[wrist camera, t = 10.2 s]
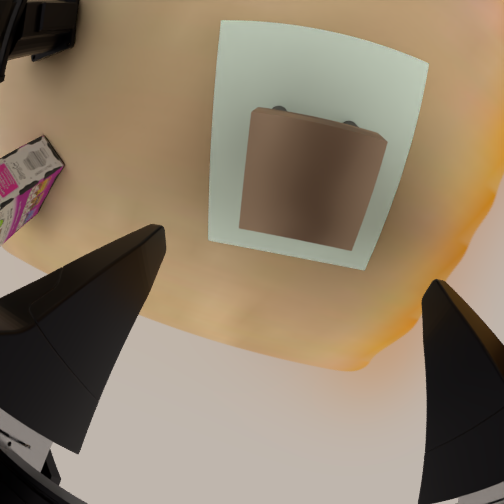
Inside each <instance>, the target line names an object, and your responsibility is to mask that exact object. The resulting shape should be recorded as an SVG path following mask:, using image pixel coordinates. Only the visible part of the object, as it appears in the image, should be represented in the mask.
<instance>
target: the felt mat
mask: <svg viewBox="0 0 504 504" xmlns="http://www.w3.org/2000/svg"><path fill="white" fill-rule="evenodd" d="M428 66H429V63H427V62H424V61H422V60H420V59H417V58H415V57H412V56H410V55H407V54H405V53H402V52H400V51H397V50H394V49H391V48H388V47H385V46H383V45H379V44H376V43H373V42H370V41H366V40H363V39H359V38H356V37H352V36H348V35H344V34H340V33H335V32H331V31H326V30H321V29H316V28H310V27H304V26H297V25H290V24H282V23H272V22H260V21H240V20H221V27H220V36H219V45H218V55H217V66H216V77H215V89H214V103H213V118H212V134H211V154H210V178H209V215H208V240H209V241H214V242H219V243H225V244H230V245H235V246H240V247H245V248H251V249H256V250H261V251H266V252H272V253H277V254H282V255H287V256H292V257H297V258H303V259H308V260H313V261H318V262H323V263H328V264H333V265H339V266H344V267H349V268H354V269H359V270H364V271H365V268H366V266H367V264H368V262H369V259H370V257H371V255H372V253H373V250H374V248H375V245H376V243H377V241H378V238H379V236H380V233H381V231H382V228H383V226H384V223H385V221H386V218H387V215H388V213H389V210H390V207H391V205H392V202H393V199H394V196H395V193H396V190H397V187H398V185H399V182H400V179H401V175H402V172H403V169H404V166H405V163H406V160H407V156H408V153H409V149H410V146H411V142H412V139H413V135H414V131H415V127H416V123H417V119H418V115H419V111H420V107H421V102H422V98H423V93H424V88H425V83H426V78H427V72H428ZM275 106H282V107H284V108H285V109H286V110H287V111H288V112H294V113H299V114H304V115H309V116H314V117H319V118H323V119H328V120H332V121H336V122H340V123H343V122H345V121H353V122H354V123H355V124H356V125H357V126H358V127H359V128H363V129H366V130H370V131H373V132H377V133H379V134H380V135H381V136H382V137H383V138H384V139H385V140H386V141H387V142H388V143H387V147H386V150H385V154H384V157H383V161H382V164H381V167H380V171H379V174H378V177H377V180H376V184H375V187H374V190H373V193H372V196H371V199H370V202H369V205H368V208H367V211H366V213H365V216H364V219H363V222H362V225H361V227H360V230H359V233H358V236H357V238H356V241H355V243H354V246H353V249H352V251H349V250H344V249H339V248H334V247H330V246H325V245H320V244H315V243H310V242H305V241H301V240H296V239H291V238H286V237H281V236H276V235H270V234H265V233H260V232H255V231H250V230H245V229H239V220H240V210H241V201H242V191H243V181H244V172H245V163H246V153H247V144H248V135H249V127H250V118H251V112H252V111H253V110H254V109H256V108H257V107H263V108H270V109H272V108H273V107H275Z"/></svg>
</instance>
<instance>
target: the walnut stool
mask: <svg viewBox="0 0 504 504" xmlns="http://www.w3.org/2000/svg"><path fill="white" fill-rule="evenodd" d="M387 143H388V142H387V141H386V140H385V139H384V138H383V137H382V136H381V135H380V134H379V133H377V132H373V131H370V130H366V129H363V128H359V127H358V126H357V125H356V124H355V123H354V122H353V121H345V122H343V123H340V122H336V121H332V120H328V119H323V118H319V117H314V116H309V115H304V114H299V113H294V112H288V111H287V110H286V109H285V108H284V107H282V106H275V107H273V108H272V109H270V108H263V107H257V108H256V109H254V110H253V111H252V112H251V118H250V127H249V135H248V144H247V153H246V163H245V172H244V181H243V191H242V201H241V210H240V220H239V229H245V230H250V231H255V232H260V233H265V234H270V235H276V236H281V237H286V238H291V239H296V240H301V241H305V242H310V243H315V244H320V245H325V246H330V247H334V248H339V249H344V250H349V251H352V249H353V246H354V243H355V241H356V238H357V236H358V233H359V230H360V227H361V225H362V222H363V219H364V216H365V213H366V211H367V208H368V205H369V202H370V199H371V196H372V193H373V190H374V187H375V184H376V180H377V177H378V174H379V171H380V167H381V164H382V161H383V157H384V154H385V150H386V147H387Z"/></svg>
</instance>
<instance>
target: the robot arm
mask: <svg viewBox="0 0 504 504" xmlns="http://www.w3.org/2000/svg"><path fill="white" fill-rule="evenodd" d="M78 3H79V0H0V83H1V82H3V81H4V78H5V69H6V65H7V61H8V60H11V59H16V58H20V57H24V56H29V55H32V56H31V59H32V61H33V62H35V61H38V60H40V59H43V58H45V57H48V56H50V55H53V54H56V53H58V52H61V51H64V50H67V49H70V48H72V47H73V45H74V40H75V27H76V18H77V10H78ZM165 253H166V239H165V230H164V227H163V226H161V225H156V224H150V225H148V226H145V227H143V228H141V229H139V230H137V231H134V232H132V233H130V234H128V235H126V236H124V237H121V238H119V239H117V240H115V241H113V242H111V243H109V244H107V245H105V246H103V247H101V248H98V249H96V250H94V251H92V252H90V253H88V254H86V255H84V256H82V257H80V258H78V259H77V260H75V261H73V262H71V263H69V264H67V265H65V266H63V268H62V267H61V268H59V269H57V270H56V271H54V272H52V273H50V274H48V275H46V276H44V277H42V278H40V279H38V280H37V281H34V282H32V283H30V284H28V285H26V286H24V287H22V288H20V289H18V290H16V291H14V292H12V293H10V294H7V295H6V296H3V297H2V298H0V504H87V503H85V502H84V501H82V500H80V499H78V498H77V497H75V496H74V495H72V494H70V493H69V492H67V491H66V490H64V489H63V488H61V487H60V486H59V484H60V481H61V477H60V475H59V472H58V470H57V467H56V464H55V462H54V459H53V456H52V453H51V450H50V447H51V445H52V442H55V443H56V444H58V445H60V446H62V447H64V448H66V449H68V450H70V451H72V452H74V453H76V454H79V452H80V450H81V447H82V444H83V441H84V438H85V436H86V433H87V430H88V428H89V425H90V422H91V420H92V417H93V414H94V412H95V410H96V407H97V405H98V402H99V399H100V397H101V394H102V392H103V390H104V387H105V385H106V383H107V380H108V378H109V376H110V374H111V371H112V369H113V367H114V364H115V362H116V360H117V358H118V356H119V354H120V351H121V349H122V347H123V345H124V343H125V341H126V339H127V337H128V335H129V332H130V330H131V328H132V326H133V324H134V322H135V320H136V318H137V316H138V314H139V312H140V310H141V308H142V306H143V304H144V302H145V301H146V299H147V297H148V295H149V292H150V290H151V288H152V285H153V283H154V280H155V278H156V275H157V273H158V270H159V268H160V265H161V263H162V260H163V258H164V256H165ZM422 318H423V345H424V356H425V369H426V390H427V391H426V392H427V422H426V444H425V452H426V453H425V456H424V465H423V474H422V482H421V488H420V494H419V499H418V504H432V503H438V502H442V501H446V500H450V499H454V498H458V503H457V504H504V345H503V344H502V343H501V341H500V340H499V339H498V338H497V337H496V335H495V334H494V333H493V332H492V331H491V329H489V327H488V326H487V325H486V324H485V323H484V322H483V320H482V319H481V318H480V317H479V316H478V315H477V314H476V313H475V312H474V311H473V309H472V308H471V307H470V306H469V305H468V304H467V303H466V302H465V301H464V300H463V299H462V298H461V297H460V296H459V295H458V294H457V293H456V292H455V291H454V290H453V289H452V288H451V287H450V286H449V285H448V284H447V283H446V282H445V281H443V280H438V279H435V280H433V281H432V283H431V284H430V286H429V288H428V289H427V291H426V292H425V294H424V296H423V298H422Z"/></svg>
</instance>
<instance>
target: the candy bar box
mask: <svg viewBox="0 0 504 504" xmlns="http://www.w3.org/2000/svg"><path fill="white" fill-rule="evenodd" d="M63 166H64V164H63V163H62V161H61V160H60V158H59V157H58V155H57V154H56V153H55V151H54V150H53V148H52V146H51V145H50V143H49V142H48V140H47V139H46V138H45V137H44V136H41V137H39V138H37V139H35V140H33V141H31V142H29V143H27V144H25V145H24V146H22V147H20V148H18V149H16V150H14V151H12V152H11V153H9V154H7V155H5V156H4V157H2V158H0V246H1V245H2V244H3V243H4V242H6V241H7V240H8V239H9V238H10V237H11V236H12V235H13V234H14V233H15V232H16V231H18V230H19V229H20V228H21V227H22V226H23V225H24V224H26V223H27V222H28V221H29V220H30V219H32V218H33V217H34V216H35V215H36V214H37V213H38V211H39V209H40V207H41V205H42V203H43V201H44V199H45V197H46V195H47V194H48V192H49V190H50V188H51V186H52V185H53V183H54V181H55V179H56V178H57V176H58V174H59V173H60V171H61V170H62V168H63Z"/></svg>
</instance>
